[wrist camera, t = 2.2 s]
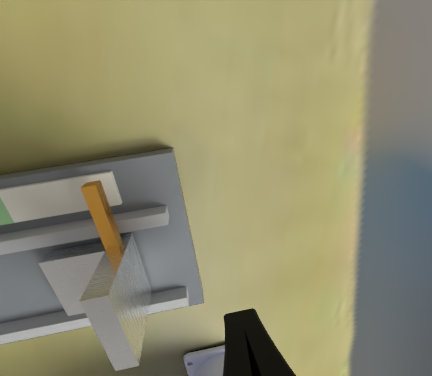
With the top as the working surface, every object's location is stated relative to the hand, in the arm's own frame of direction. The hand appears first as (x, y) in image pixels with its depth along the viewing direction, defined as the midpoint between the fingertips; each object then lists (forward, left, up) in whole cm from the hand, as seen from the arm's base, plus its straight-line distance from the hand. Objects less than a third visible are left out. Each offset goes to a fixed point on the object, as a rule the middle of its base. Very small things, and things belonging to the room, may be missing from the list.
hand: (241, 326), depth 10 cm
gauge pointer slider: (+2, +8, -6) cm, 10 cm away
